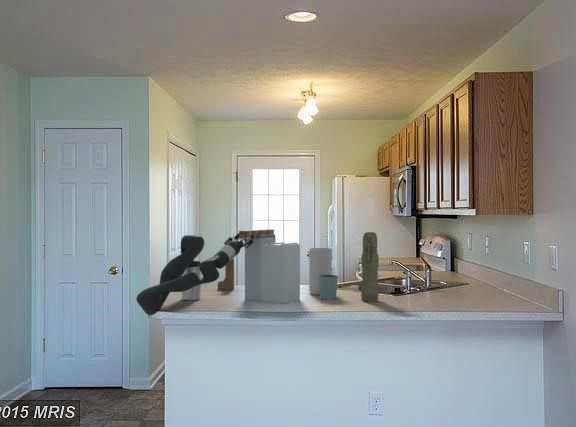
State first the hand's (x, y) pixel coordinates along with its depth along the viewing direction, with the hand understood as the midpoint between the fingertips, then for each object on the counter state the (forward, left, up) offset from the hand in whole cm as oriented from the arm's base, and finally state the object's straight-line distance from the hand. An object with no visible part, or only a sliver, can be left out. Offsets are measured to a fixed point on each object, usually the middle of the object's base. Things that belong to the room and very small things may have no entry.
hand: (246, 234), depth 286 cm
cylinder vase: (+41, -26, -34) cm, 59 cm away
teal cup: (+27, -35, -34) cm, 56 cm away
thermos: (+28, -57, -34) cm, 72 cm away
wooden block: (+35, +30, -34) cm, 57 cm away
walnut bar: (+10, -1, -2) cm, 10 cm away
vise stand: (+12, -9, -34) cm, 37 cm away
